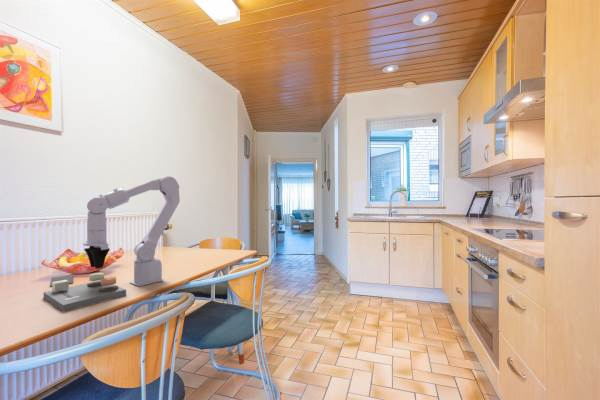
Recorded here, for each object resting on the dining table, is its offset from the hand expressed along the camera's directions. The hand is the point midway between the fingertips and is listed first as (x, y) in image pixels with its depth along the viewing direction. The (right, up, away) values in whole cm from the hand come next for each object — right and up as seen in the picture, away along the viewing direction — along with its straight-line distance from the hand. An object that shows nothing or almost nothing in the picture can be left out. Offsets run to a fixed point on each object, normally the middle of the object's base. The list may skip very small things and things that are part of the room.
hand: (96, 267), depth 100 cm
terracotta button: (+8, -4, -6) cm, 11 cm away
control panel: (+1, -8, -7) cm, 11 cm away
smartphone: (-23, -9, +11) cm, 27 cm away
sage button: (0, -4, 0) cm, 4 cm away
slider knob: (-7, -6, -7) cm, 12 cm away
